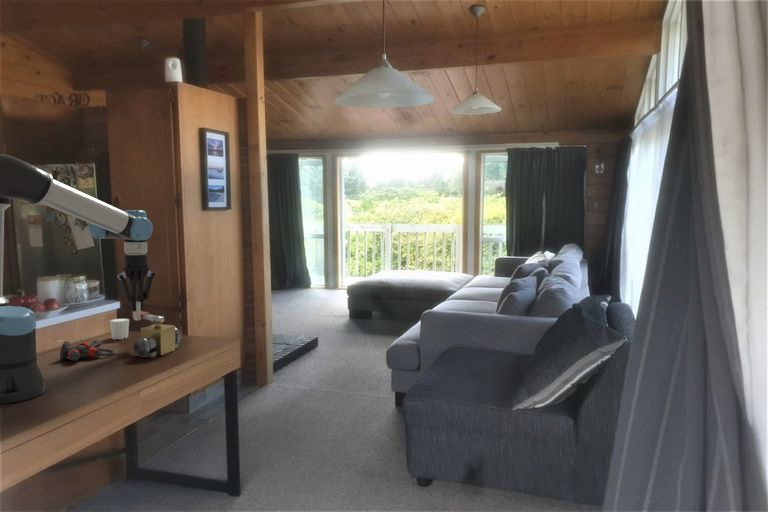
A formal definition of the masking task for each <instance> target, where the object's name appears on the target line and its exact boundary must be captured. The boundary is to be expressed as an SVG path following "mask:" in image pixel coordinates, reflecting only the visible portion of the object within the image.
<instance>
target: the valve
mask: <svg viewBox="0 0 768 512" xmlns="http://www.w3.org/2000/svg"><path fill="white" fill-rule="evenodd" d="M102 343H103V340H102V339H100V340H98V339H94V340H93V341H90V342H89V343H87V342H85V341H84V342H81V343H79V344H78V345H76V346H74V345H71V344H70V341H69V340H68V341H67V340H66V341H64V342H63V344H62V345H61V347H60V351H59V359H60V361H65V360H66V359H67V358H68V359H69V360H70V361H73V362H77V361H78V360H79V359H88V360H98V359H100V358H101V357H108V356H109V357H110V356H112V355H114V353H115V352H114V351H113V350H112V349H108V348H102V347H101V348H100V347H97V346H99V345H101V344H102Z"/></svg>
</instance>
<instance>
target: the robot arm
mask: <svg viewBox="0 0 768 512" xmlns="http://www.w3.org/2000/svg"><path fill="white" fill-rule="evenodd" d="M12 199H15V200H19V201H24V202H27V203H29V204H32V205H38V204H42V205H43V206H44V205H45V206H47V207H49V208H52V209H53V210H57V211H59V212H62V213H64V214H67V215H69V216H71V217H74V218H75V219H79V220H81V221H84V222H87V223H88V232H89V234H90V235H91V237H92V238H93V239H103V240H105V239H115V240H116V239H117V240H123V253H125V254H124V255H123V257H124V258H123V259H124V260H123V261H124V268H123V272H121V273H120V274H119V273H118V274H117V275H116V278H117V279H118V280H119V282H120V286H121V289H122V293H123V297H124V300H125V301H128V302H129V303H130V310H131V312H134V317H133V321H136V322H137V321H141V320H142V319H141V311H143V309H144V302H145V301H146V300H148V299H149V296H150V293H151V287H152V283H153V279H154V277H155V276H156V273H155V272H153V271H151V270H150V267H149V266H148V264H149V263H148V262H149V261H148V259H149V257H148V254H147V253H148V239H149V238H150V237H152V234H153V232H154V231H153V230H154V227H153V223H152V222H151V221H150V220H149V218H148V216H147V212H146V211H145V210H140V209H128V210H127V209H125V210H124V211H123V210H122V209H120V208H118V207H116V206H113V205H111V204H109V203H106V202H105V201H103V200H100V199H98V198H96V197H93V196H92V195H90V194H87V193H84V192H82V191H80V190H78V189H76V188H74V187H72V186H70V185H67V184H66V183H63V182H61V181H58V180H57V179H54V178H53V176H52V174H51V173H49V172H48V171H46V170H43V169H41V168H39V167H37V166H35V165H33V164H31V163H28V162H26V161H24V160H22V159H19V158H18V157H15V156H13V155H12V156H11V155H9V154H3V153H0V405H3V404H12V403H17V402H23V401H27V400H31V399H34V398H37V397H38V396H40V395H42V394H43V393H45V391H46V382H45V380H44V377H43V375H42V372H41V370H40V368H39V365H38V363H37V362H38V361H37V360H38V359H37V328H36V327H37V323H36V317H35V313H34V311H33V310H32V309H30V308H29V307H28V308H27V307H24V306H19V305H18V306H14V305H10V301H9V299H7V298H6V297H5V296H4V294H3V293H4V292H3V289H4V288H3V287H4V249H5V247H4V243H5V242H4V241H5V239H4V238H5V229H4V228H5V211H6V210H7V209H8V208H10V207H11V206H12ZM145 277H146V279H145ZM126 278H127V279H128V282H127V279H126ZM128 283H129V286H128Z"/></svg>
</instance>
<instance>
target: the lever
mask: <svg viewBox="0 0 768 512" xmlns="http://www.w3.org/2000/svg"><path fill="white" fill-rule="evenodd" d="M131 317H132V318H134V312H133V311H131ZM143 319H144V320H148V321H151V323H153V324H154V323H159V322H162V323H164V322H165V316H164V315H155V314H151V313H150V312H147V311H143V310H141V320H143Z"/></svg>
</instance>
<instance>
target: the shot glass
mask: <svg viewBox="0 0 768 512" xmlns="http://www.w3.org/2000/svg"><path fill="white" fill-rule="evenodd" d="M109 325H110V334H111V339H112V340H116V339H119V340H125V339H124V338H126V339H128V338H129V328H130V319H129V318H113V319H110V320H109ZM127 337H128V338H127Z"/></svg>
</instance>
